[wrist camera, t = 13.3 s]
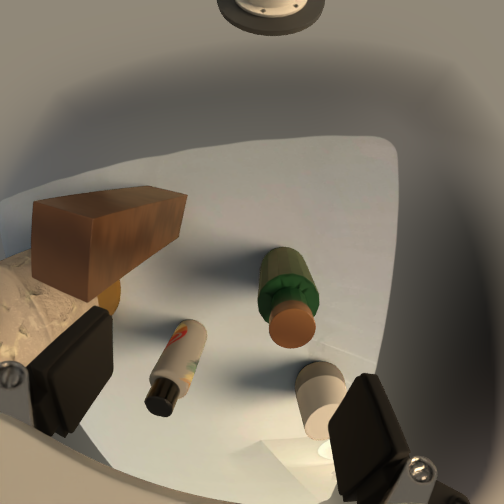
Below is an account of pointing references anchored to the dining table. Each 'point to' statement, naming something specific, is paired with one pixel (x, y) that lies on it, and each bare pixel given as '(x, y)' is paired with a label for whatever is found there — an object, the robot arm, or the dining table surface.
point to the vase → (38, 310)
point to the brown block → (100, 236)
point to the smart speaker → (319, 397)
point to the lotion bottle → (175, 368)
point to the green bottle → (285, 281)
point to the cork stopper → (291, 324)
